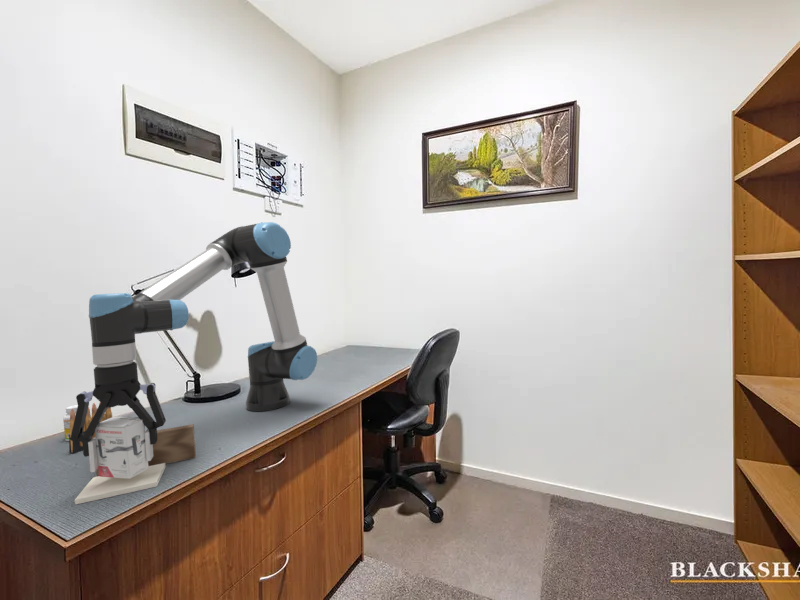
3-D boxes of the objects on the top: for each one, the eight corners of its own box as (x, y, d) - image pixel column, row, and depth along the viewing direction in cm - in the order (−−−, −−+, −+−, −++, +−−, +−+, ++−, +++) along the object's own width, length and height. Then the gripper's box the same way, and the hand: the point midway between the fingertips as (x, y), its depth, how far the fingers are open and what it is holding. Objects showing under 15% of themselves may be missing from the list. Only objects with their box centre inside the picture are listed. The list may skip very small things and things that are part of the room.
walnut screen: (195, 454, 94) (193, 424, 94) (194, 457, 92) (192, 426, 92) (99, 473, 86) (97, 440, 86) (96, 477, 85) (94, 443, 84)
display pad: (165, 466, 88) (165, 462, 88) (156, 486, 79) (156, 481, 79) (93, 481, 83) (93, 477, 83) (75, 504, 74) (74, 499, 74)
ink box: (96, 477, 79) (92, 423, 79) (118, 466, 84) (115, 415, 84) (129, 480, 78) (125, 424, 77) (150, 468, 83) (146, 416, 82)
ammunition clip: (73, 453, 99) (70, 410, 99) (69, 453, 100) (65, 409, 99) (115, 438, 109) (113, 398, 109) (111, 437, 110) (108, 398, 109)
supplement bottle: (85, 433, 114) (83, 402, 114) (91, 436, 111) (88, 405, 111) (62, 439, 110) (60, 407, 110) (67, 443, 107) (65, 410, 107)
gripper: (176, 355, 88) (182, 446, 89) (59, 367, 79) (67, 468, 80) (170, 360, 81) (178, 459, 82) (41, 373, 72) (50, 484, 73)
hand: (123, 463), depth 81 cm, fingers closed on ink box, 9 cm apart
